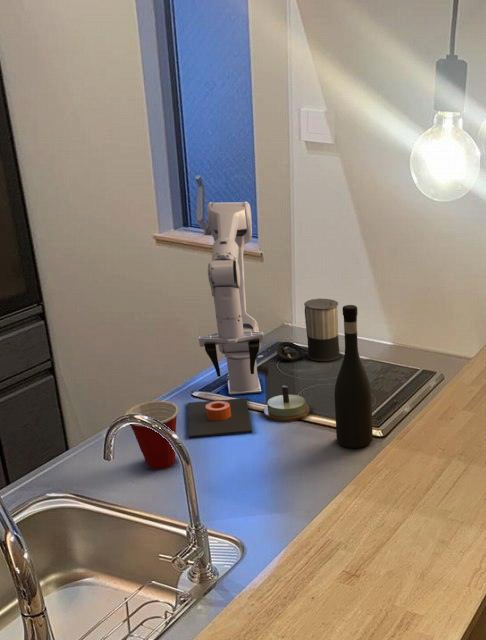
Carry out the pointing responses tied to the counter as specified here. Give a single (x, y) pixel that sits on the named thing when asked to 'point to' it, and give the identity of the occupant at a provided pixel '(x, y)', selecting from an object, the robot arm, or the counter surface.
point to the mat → (232, 425)
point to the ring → (218, 410)
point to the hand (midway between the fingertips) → (235, 373)
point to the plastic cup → (155, 433)
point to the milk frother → (317, 332)
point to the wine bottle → (352, 390)
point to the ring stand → (286, 407)
